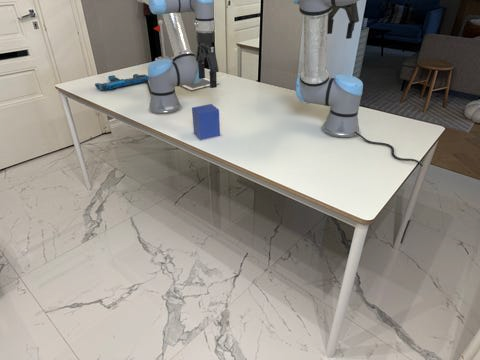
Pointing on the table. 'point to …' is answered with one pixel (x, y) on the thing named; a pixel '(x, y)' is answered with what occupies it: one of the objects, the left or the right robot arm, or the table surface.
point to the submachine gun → (121, 82)
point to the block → (206, 121)
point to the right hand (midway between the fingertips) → (338, 36)
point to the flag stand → (159, 28)
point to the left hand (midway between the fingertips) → (207, 82)
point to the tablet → (198, 84)
